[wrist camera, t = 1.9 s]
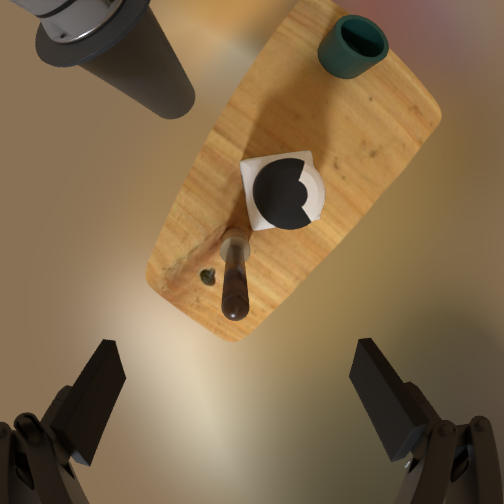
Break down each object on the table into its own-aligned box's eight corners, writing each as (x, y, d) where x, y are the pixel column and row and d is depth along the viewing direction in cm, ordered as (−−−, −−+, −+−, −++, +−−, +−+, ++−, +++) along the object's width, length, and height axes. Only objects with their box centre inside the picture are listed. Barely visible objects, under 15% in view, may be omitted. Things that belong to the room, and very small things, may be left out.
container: (249, 219, 37) (256, 245, 25) (238, 162, 35) (240, 157, 22) (305, 209, 37) (338, 230, 25) (296, 153, 35) (327, 146, 22)
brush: (217, 236, 37) (199, 305, 18) (240, 222, 37) (245, 280, 18) (230, 258, 38) (226, 342, 19) (253, 245, 38) (270, 321, 19)
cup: (308, 45, 30) (324, 20, 22) (347, 33, 29) (368, 11, 22) (334, 85, 32) (356, 67, 24) (371, 71, 31) (398, 55, 24)
